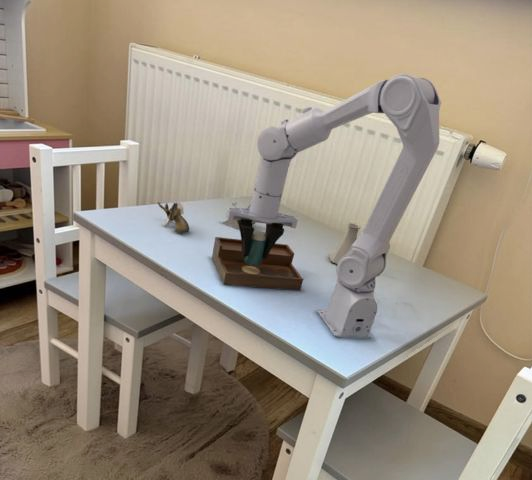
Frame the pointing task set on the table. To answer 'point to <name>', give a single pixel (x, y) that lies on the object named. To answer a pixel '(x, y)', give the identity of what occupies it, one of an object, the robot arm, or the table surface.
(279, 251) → the spice shelf
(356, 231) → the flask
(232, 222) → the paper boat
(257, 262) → the cylinder
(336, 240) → the table surface
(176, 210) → the eagle figurine
